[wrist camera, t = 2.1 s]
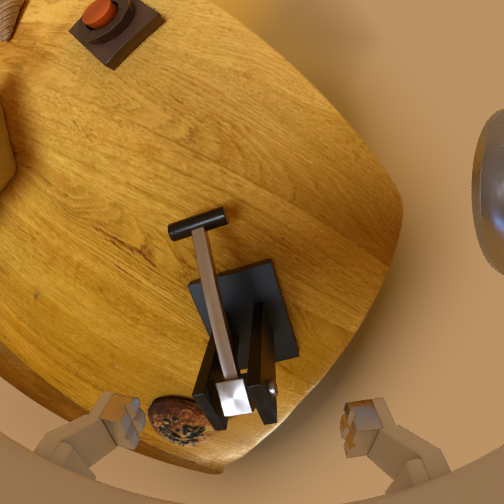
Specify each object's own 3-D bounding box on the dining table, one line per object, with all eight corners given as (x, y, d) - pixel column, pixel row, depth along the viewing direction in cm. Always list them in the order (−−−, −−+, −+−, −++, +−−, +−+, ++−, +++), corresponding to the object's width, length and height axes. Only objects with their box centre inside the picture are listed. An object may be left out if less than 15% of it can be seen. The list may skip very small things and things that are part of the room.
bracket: (190, 281, 30) (142, 357, 17) (270, 258, 29) (274, 331, 16) (227, 366, 33) (210, 456, 20) (298, 350, 32) (312, 442, 19)
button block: (165, 21, 22) (153, 6, 18) (113, 70, 24) (96, 60, 20) (122, -8, 20) (108, -21, 16) (77, 36, 22) (60, 26, 18)
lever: (176, 228, 25) (163, 220, 23) (228, 211, 24) (220, 200, 22) (216, 410, 21) (207, 419, 18) (275, 400, 20) (271, 409, 18)
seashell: (26, 39, 24) (41, 10, 20) (-11, 55, 19) (-1, 24, 15) (11, -2, 17) (26, -30, 13) (-24, 12, 12) (-13, -19, 7)
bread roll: (154, 384, 35) (147, 411, 30) (229, 404, 37) (229, 431, 32) (144, 421, 38) (139, 445, 33) (208, 437, 40) (207, 461, 36)
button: (122, 10, 18) (116, 3, 17) (98, 34, 19) (90, 28, 18) (107, 0, 18) (101, -6, 16) (84, 22, 19) (77, 17, 17)
